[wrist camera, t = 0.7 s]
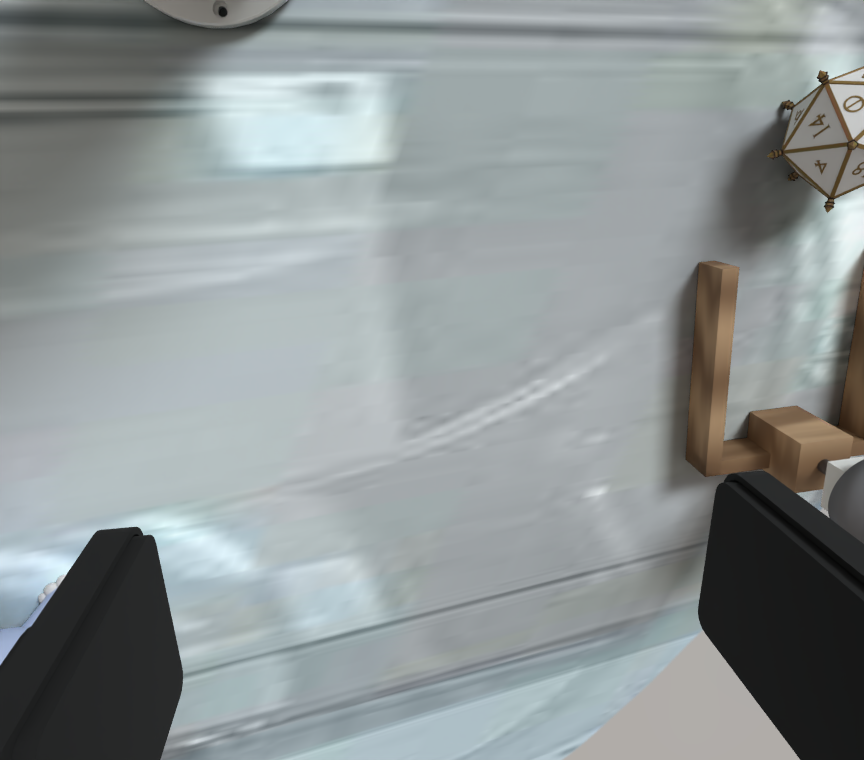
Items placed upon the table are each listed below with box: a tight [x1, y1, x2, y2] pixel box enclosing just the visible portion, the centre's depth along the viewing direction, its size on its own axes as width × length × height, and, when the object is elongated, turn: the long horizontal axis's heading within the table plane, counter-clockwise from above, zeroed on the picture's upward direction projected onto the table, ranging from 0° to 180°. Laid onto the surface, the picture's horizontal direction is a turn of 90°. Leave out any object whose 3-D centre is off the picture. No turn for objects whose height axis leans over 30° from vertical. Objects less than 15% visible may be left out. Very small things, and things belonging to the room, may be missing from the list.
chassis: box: [686, 261, 864, 493], centre depth 44 cm, size 16×14×8 cm
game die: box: [767, 67, 864, 213], centre depth 39 cm, size 9×8×10 cm
